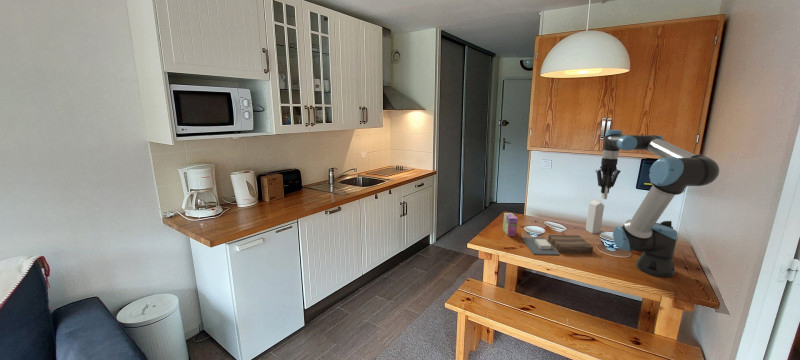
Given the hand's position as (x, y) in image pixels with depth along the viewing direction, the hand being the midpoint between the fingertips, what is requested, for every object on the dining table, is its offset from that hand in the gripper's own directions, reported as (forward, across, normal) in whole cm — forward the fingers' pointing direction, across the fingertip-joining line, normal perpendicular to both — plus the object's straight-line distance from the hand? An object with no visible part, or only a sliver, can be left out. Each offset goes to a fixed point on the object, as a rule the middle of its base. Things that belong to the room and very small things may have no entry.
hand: (603, 198), depth 187 cm
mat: (+29, +35, +2) cm, 45 cm away
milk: (+29, -9, -21) cm, 36 cm away
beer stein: (+29, -23, +9) cm, 38 cm away
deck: (+29, +18, +3) cm, 34 cm away
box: (+29, +46, -18) cm, 57 cm away
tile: (+26, +33, +3) cm, 42 cm away
